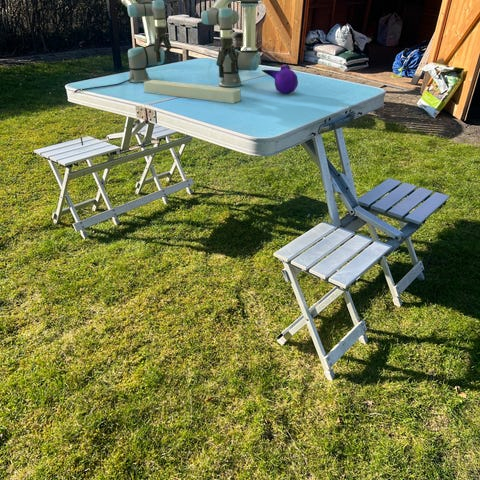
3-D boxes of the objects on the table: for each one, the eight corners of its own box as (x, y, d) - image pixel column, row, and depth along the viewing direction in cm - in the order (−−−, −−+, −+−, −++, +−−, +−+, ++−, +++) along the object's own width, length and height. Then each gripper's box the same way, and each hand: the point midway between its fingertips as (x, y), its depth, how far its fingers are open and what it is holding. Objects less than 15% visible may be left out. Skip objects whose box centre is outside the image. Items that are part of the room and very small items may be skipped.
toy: (281, 86, 312) (297, 99, 291) (258, 82, 304) (273, 95, 284) (288, 63, 304) (305, 74, 283) (264, 58, 296) (281, 69, 276)
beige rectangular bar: (144, 92, 306) (143, 82, 303) (153, 89, 313) (152, 79, 309) (233, 103, 274) (233, 92, 271) (240, 100, 281) (240, 89, 277)
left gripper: (156, 28, 287) (159, 63, 298) (174, 25, 307) (177, 58, 318) (145, 28, 289) (149, 63, 300) (164, 25, 310) (167, 57, 320)
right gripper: (220, 40, 251) (221, 79, 262) (242, 35, 270) (243, 72, 280) (209, 39, 255) (211, 78, 265) (232, 35, 273) (233, 71, 284)
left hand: (164, 60), depth 309 cm, fingers open, 13 cm apart
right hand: (227, 75), depth 273 cm, fingers open, 13 cm apart
